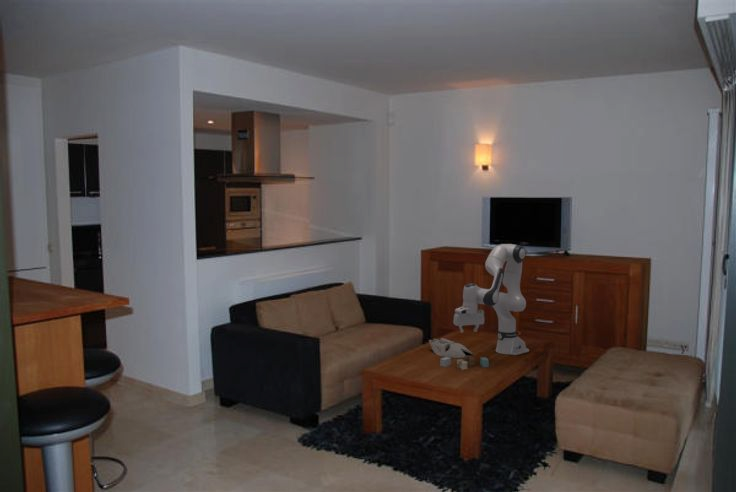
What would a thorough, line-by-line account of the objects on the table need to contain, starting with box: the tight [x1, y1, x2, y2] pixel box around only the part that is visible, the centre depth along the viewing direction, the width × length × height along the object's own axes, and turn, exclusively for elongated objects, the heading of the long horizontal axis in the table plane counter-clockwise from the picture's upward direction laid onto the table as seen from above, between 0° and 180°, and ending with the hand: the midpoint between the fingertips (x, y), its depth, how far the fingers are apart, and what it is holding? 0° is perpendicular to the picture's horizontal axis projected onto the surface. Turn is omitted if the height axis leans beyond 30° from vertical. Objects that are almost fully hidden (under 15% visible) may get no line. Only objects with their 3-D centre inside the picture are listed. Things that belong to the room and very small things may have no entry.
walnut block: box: [463, 355, 476, 367], centre depth 379 cm, size 6×4×4 cm, turn 26°
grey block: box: [439, 356, 452, 368], centre depth 376 cm, size 6×4×4 cm, turn 136°
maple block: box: [456, 359, 468, 371], centre depth 371 cm, size 6×4×4 cm, turn 26°
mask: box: [428, 337, 474, 360], centre depth 404 cm, size 20×9×30 cm
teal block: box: [479, 356, 490, 368], centre depth 376 cm, size 6×4×4 cm, turn 6°
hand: (468, 332), depth 378 cm, fingers open, 8 cm apart
